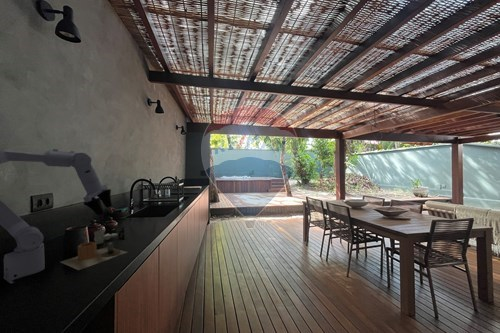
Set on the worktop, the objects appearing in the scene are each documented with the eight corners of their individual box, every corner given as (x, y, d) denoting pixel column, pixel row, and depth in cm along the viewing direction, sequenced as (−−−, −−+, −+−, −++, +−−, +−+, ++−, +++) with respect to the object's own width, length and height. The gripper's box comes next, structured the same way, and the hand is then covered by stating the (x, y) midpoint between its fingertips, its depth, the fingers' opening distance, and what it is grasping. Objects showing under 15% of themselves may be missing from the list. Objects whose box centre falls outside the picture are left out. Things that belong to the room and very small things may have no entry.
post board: (78, 273, 74) (78, 256, 74) (59, 264, 81) (59, 249, 81) (127, 254, 89) (127, 241, 89) (107, 248, 96) (107, 236, 96)
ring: (82, 261, 81) (82, 247, 81) (76, 258, 84) (75, 245, 84) (99, 255, 86) (98, 243, 86) (92, 253, 89) (91, 241, 89)
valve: (94, 248, 98) (124, 241, 105) (94, 233, 98) (124, 228, 105) (94, 244, 104) (123, 238, 111) (93, 230, 104) (122, 225, 111)
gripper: (91, 183, 82) (106, 215, 85) (108, 173, 96) (121, 200, 99) (71, 189, 81) (88, 220, 85) (92, 178, 95) (105, 205, 98)
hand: (105, 210), depth 92 cm, fingers open, 7 cm apart
